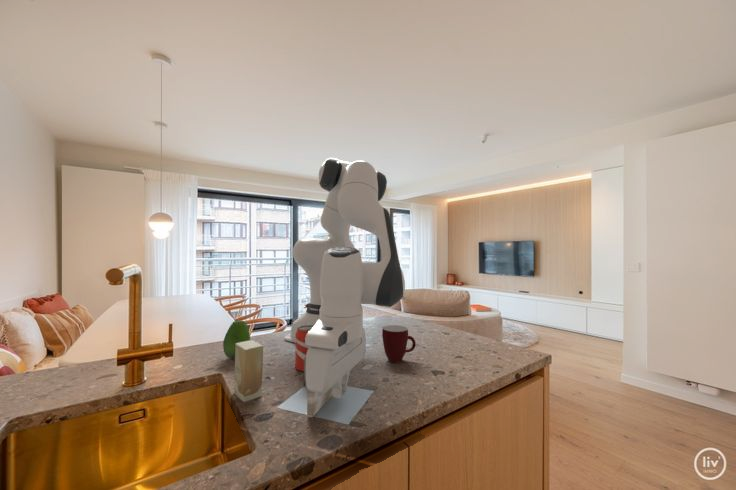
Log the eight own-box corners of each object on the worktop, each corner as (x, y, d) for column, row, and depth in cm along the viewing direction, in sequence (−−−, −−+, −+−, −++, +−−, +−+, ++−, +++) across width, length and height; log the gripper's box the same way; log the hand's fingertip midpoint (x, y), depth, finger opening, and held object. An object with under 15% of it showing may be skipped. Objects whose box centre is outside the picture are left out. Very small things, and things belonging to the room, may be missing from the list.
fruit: (219, 357, 95) (219, 319, 95) (244, 352, 100) (245, 316, 101) (227, 365, 89) (227, 324, 89) (253, 358, 94) (254, 320, 95)
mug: (409, 354, 100) (410, 324, 100) (419, 363, 92) (419, 330, 92) (379, 356, 98) (379, 325, 98) (386, 366, 90) (386, 332, 90)
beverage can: (318, 372, 85) (318, 329, 85) (294, 374, 83) (295, 330, 84) (317, 364, 91) (317, 324, 91) (295, 365, 89) (296, 325, 89)
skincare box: (233, 394, 71) (234, 342, 72) (251, 388, 74) (252, 339, 75) (244, 404, 67) (245, 349, 67) (263, 397, 70) (263, 345, 70)
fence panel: (330, 390, 72) (331, 363, 72) (336, 391, 72) (336, 364, 72) (306, 416, 61) (307, 385, 61) (312, 417, 60) (313, 386, 61)
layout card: (276, 409, 65) (276, 407, 65) (312, 381, 79) (312, 379, 79) (348, 426, 59) (348, 424, 59) (373, 392, 73) (373, 390, 73)
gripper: (348, 314, 72) (347, 372, 72) (299, 338, 53) (298, 417, 53) (373, 317, 70) (372, 377, 70) (331, 343, 51) (330, 425, 51)
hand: (339, 394), depth 61 cm, fingers closed
